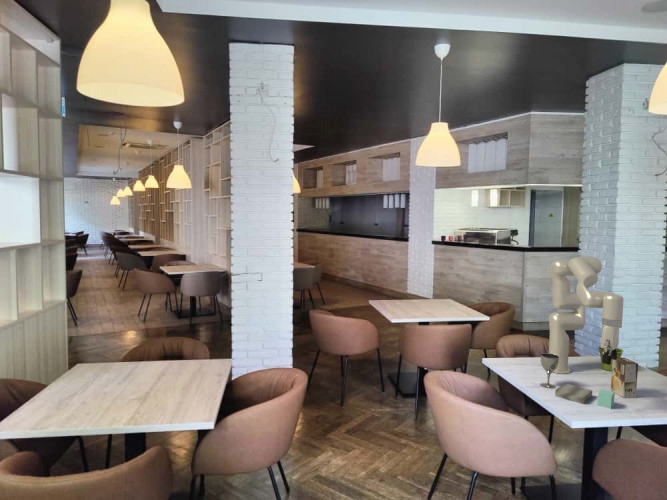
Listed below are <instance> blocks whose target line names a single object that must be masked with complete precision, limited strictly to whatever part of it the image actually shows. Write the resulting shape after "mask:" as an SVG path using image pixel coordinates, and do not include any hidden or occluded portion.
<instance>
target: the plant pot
mask: <svg viewBox="0 0 667 500" xmlns="http://www.w3.org/2000/svg"><path fill="white" fill-rule="evenodd" d="M597 349H598V351H599V355H600V363H601V368H602V369H603V370H605V371H610V372H612V364H613V360H612V359H611V364H610V365H608V364H604V363H602V357H603V350H604V348H603V349H602V348H601V345H600V346H598V347H597ZM623 353H624V350H623V349H622V348H619V347H617V358H622V354H623Z"/></svg>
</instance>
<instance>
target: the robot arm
mask: <svg viewBox="0 0 667 500" xmlns="http://www.w3.org/2000/svg"><path fill="white" fill-rule="evenodd" d="M602 265H603V264H602V262H601V261H600V259H598V257H594V256H593V257H592V256H575V257H572V258H571V259H556V260H554V261H553V262H552V263H551V265H550V269H549V271H550V277H551V281H552V297H551V298H552V299H551V300H552V302H551V303H552V306H553V308H555V309H557V310H572V311H555V312H552V313H550V314H549V316H548V326H549V342H548V353H550V354H555V355H557V356H559V363H558V366H557V368H556V369H555V370H554V371H553V372H552V373H556V374H562V375H563V374H570V373H572V371H571V368H570V367H569V354H570V353H569V350H570V337H569V335H568V334H567V332H566V331H580V330H581V331H582V330H583V329H584V328H585V325H586V308H588V309H589V308H590V309H591V308H592V309H602V312H601V314H602V315H601V326H602V332H601V341H600V346H601V348H602V349H603V348H604V350H603V357H602V363H604V364H608V365H610V364H611V359H612V360H617V348H619V343H620V329H621V328H622V327H623V315H624V297H623V296H622V295H620V294H616V293H615V292H613V291H606V290H605V291H601V290H599V291H598V290H589V288H591V287H593V286H594V285H596V284H597V283H598V280H599V276H598V274H600V273H601V272H602V268H603V266H602ZM568 277H575V279H576V280H577V285H576V291H571V282H570V280H569V278H568ZM539 361H540V363H541V358H540V360H539Z"/></svg>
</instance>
